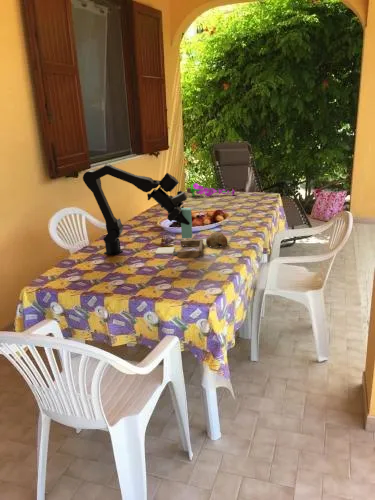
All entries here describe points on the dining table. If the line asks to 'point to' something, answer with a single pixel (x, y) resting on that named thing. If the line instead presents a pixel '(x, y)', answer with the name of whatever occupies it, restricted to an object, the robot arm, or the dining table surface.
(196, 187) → the purple flower spray
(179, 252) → the walnut frame
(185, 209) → the teal block
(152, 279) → the dining table surface
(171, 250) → the white tile
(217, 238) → the bread roll
